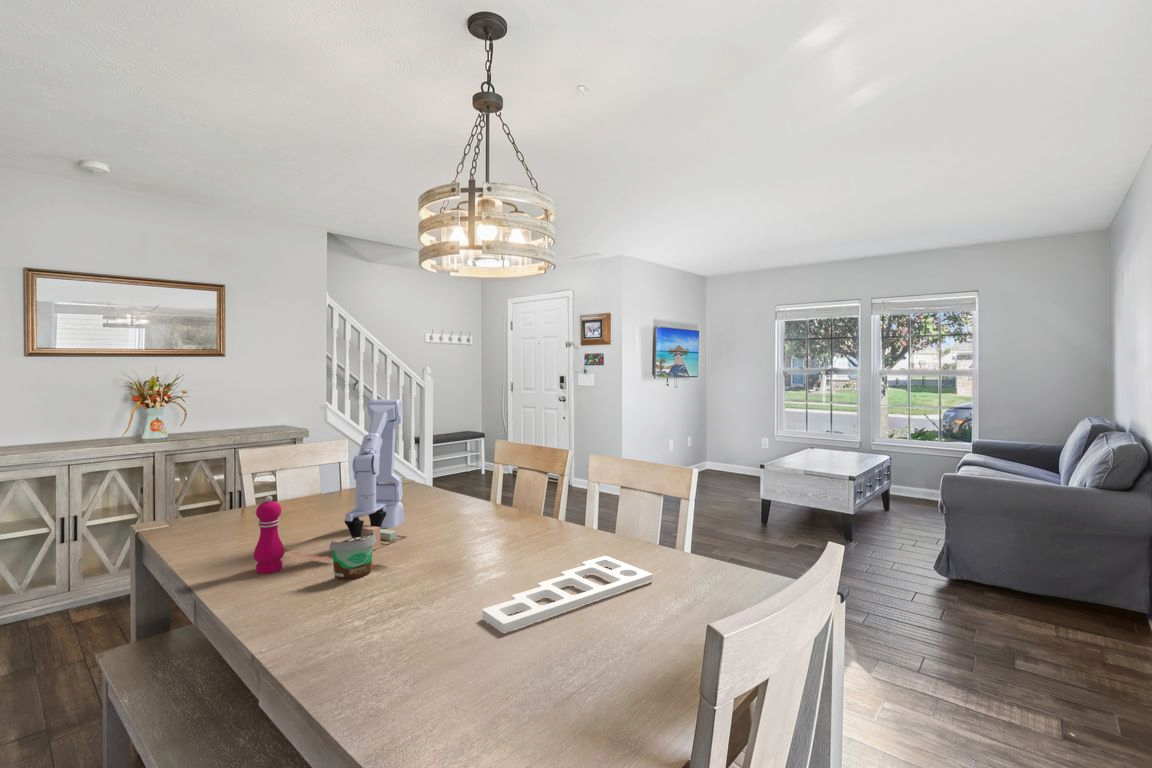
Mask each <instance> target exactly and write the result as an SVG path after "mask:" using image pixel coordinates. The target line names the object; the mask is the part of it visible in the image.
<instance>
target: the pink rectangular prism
mask: <svg viewBox="0 0 1152 768" xmlns="http://www.w3.org/2000/svg"><path fill="white" fill-rule="evenodd" d="M380 529H381V528H380V527H375V526H371V525H367V524H363V526H362V531H361V537H362V536H366V535H369V534H370V531H372V532H373V533H374V535H375V538H376V543H375V544H373V549H376V548H378V547H381V544H380V543H381V541H380Z"/></svg>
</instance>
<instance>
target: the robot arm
mask: <svg viewBox="0 0 1152 768" xmlns="http://www.w3.org/2000/svg"><path fill="white" fill-rule="evenodd" d="M367 405H368V406H367V412H368V416H369V419H370V425H369V430H368V434H365V435H364V436H363V438H362V442H361V445H360V448H359V451H358V453H357V455H355V456H354V457H353V459H352V472H353V478H354V480H355V507H354V508H353V510H351V511H350V512H348V513H345V514H344V515H345V516H344V517H345V519H344V523H345V525H346V527H347V529H348V531H349V533H350V536H351V538H353V537H361V531H362V526H363V525H364V523H365V521H364V520H362V519H360V518H363V517H366V516H368V518H369V522H370V523H369V524H370V526H375V527H380V529H390V528H395V527H396V526H399V525H401V524H403V523H405V508H404V505H403V503H402V502H401V501H402V498H403V490H404V489H403V481H402V478H401V477H399V476H398V475H396V474H395V450H396V449H395V448H396V429H397V426H398V425H399V424H401V423H402V420H403V417H402V416H403V405H402V401H401V400H400V399H399V398H398V399H397V398H396V399H375V398H371V399H370V401H369V402H368V404H367ZM377 474H378V475H377Z"/></svg>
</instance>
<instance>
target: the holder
mask: <svg viewBox="0 0 1152 768" xmlns="http://www.w3.org/2000/svg"><path fill="white" fill-rule="evenodd" d="M603 564H607V565H609V566H612V567H614V568H615V569H612V570H611V569H609V568H604V567H602V566H600V565H603ZM589 573H596V574H598V575H600V576H602V577H605V578H607V579H609V580H611V581H614V582H613V583H607V584H604V585H601V584H598V583H596V582H593V581H591V580H590V579H587V578H586V577H584V578H583V577H581V576H582V575H585V574H589ZM624 575H633V576H624ZM649 580H652V581H653V573H651V572H650V571H647V570H645V569H641V568H639V567H636V566H634V565H631V564H628V563H626V562H624V561H621V560H618V559H615V558H613V557H612V556H608V555H602V556H599V557H596V558H592V559H590V560H585V561H582V562H581V566H577V567H574V568H570V569H567V570H564V571H563V570H562V571H561V572H560V576H557V577H554V578H550V579H547V580H543V581H540V582H538V583H537V587H534V588H532V589H528V590H524V591H522V592H518V593H515V594H512V595H511V600H508V601H505V602H501V603H500V602H499V603H498V604H495V605H490V606H488V607H483V608H482V618H483V619H484V620H486V621H487V622H489V623H490V624H492V625H493V626H495V627H496V628H498V629H499V630H501V631H502V632H508V631H510V630H513V629H515V628H518V627H521V626H524V625H527V624H529V623H532V622H535V621H537V620H540V619H544V618H546V617H549V616H551V615H554V614H557V613H560V612H563V611H565V610H569V609H571V608H574V607H577V606H580V605H583V604H586V603H589V602H591V601H594V600H597V599H600V598H602V597H605V596H608V595H611V594H614V593H617V592H620V591H622V590H625V589H628V588H630V587H633V586H636V585H638V584H641V583H644V582H646V581H649ZM567 584H574V585H576V586H578V587H580V588H582V589H584V590H586V592H583V591H582V592H579V593H577V594H570V593H569V592H567V591H565V590H563V589H559V587H562V586H565V585H567ZM548 596H549V597H551V598H553V599H555V600H557V601H555V602H554V601H553V602H550V603H547V604H539V603H538V602H534V601H533V600H537V599H540V598H543V597H548ZM519 610H523V611H525V612H519V613H516V614H512V615H509V616H508V615H507V614H510V613H513V612H516V611H519ZM484 620H483V621H484Z"/></svg>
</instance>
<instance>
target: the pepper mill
mask: <svg viewBox="0 0 1152 768" xmlns="http://www.w3.org/2000/svg"><path fill="white" fill-rule="evenodd" d="M264 500H265V501H264V502H262V503H260V504H258V506H257V508H256V510H255V515H256V517H257V519H259V520H258V524H257V525H258V527H259V530H260V531H259V537H258V541H257V544H256V546H255V548H254V551H253V559H254V560H255V561H256V562H257V563H256V564H255V572H256V573H257V574H262V575H263V574H272V573H276V571H277V572H279V571H280V570H282V569H283V561H282V560H281V559H282V558H283V557H284V555H285V547H284V544H283V542H282V540H281V538H280V535H279V531H278V530H279V529H278V528H279V527H278V526H279V525H280V518H279V517H280V515H281V514H282V507H281V506H282V505H280V504H279V503H278V502H276V501H273V496H271V495H267V496H266V497H265V498H264Z"/></svg>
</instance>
